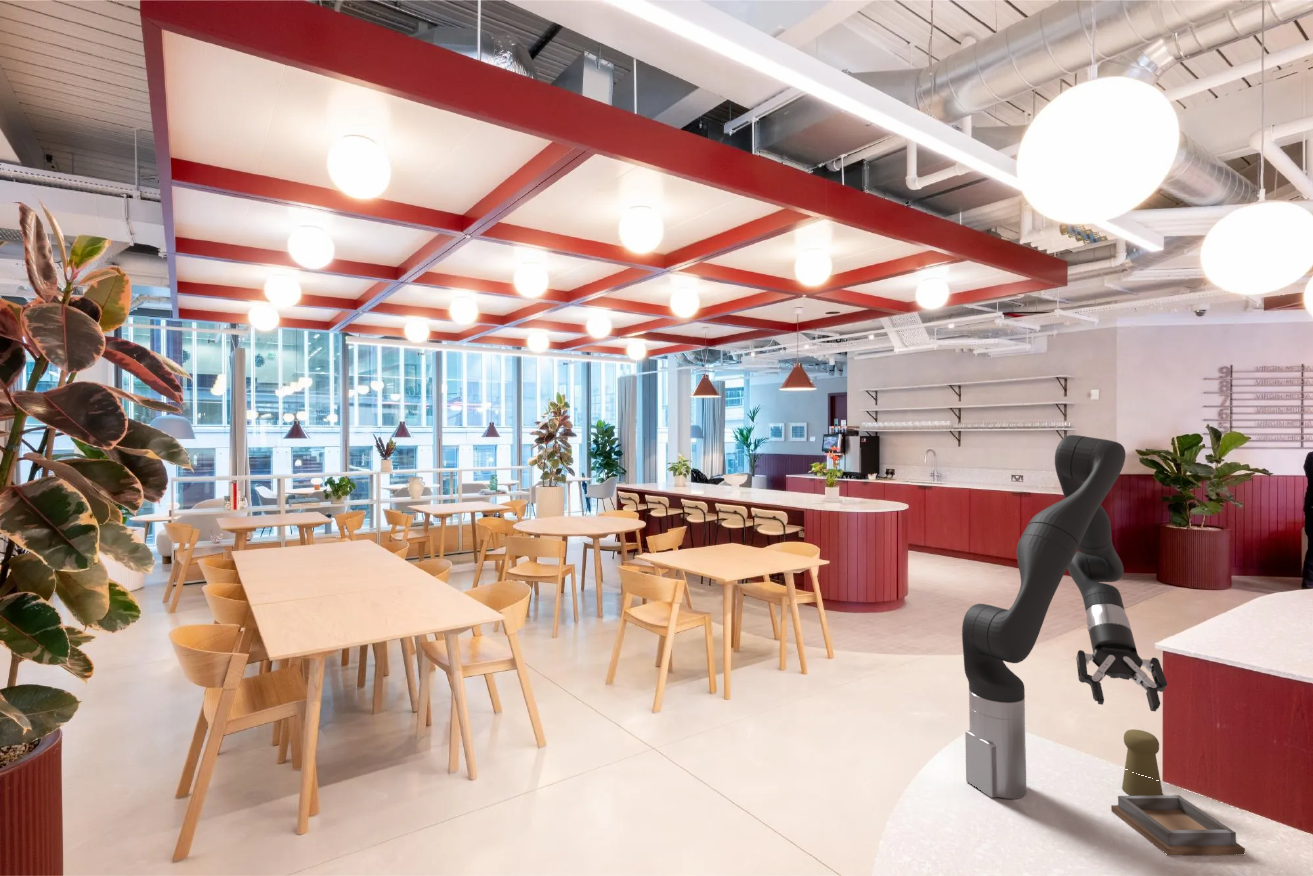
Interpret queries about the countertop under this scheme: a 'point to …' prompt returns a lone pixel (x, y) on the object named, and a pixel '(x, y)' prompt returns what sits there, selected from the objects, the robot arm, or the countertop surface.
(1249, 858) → the countertop surface
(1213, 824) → the plate
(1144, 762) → the cork
